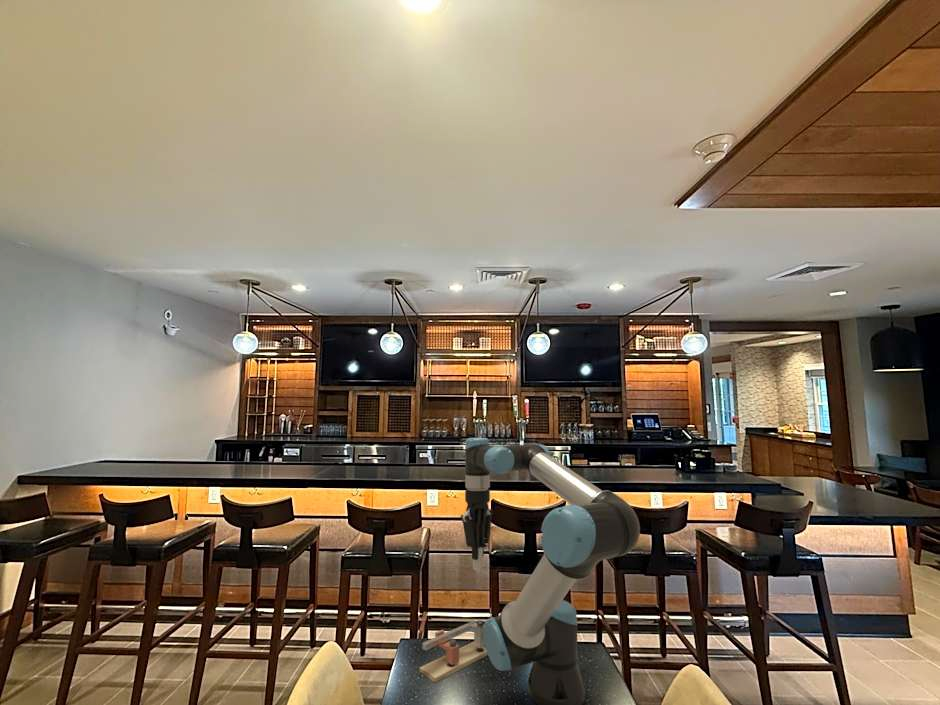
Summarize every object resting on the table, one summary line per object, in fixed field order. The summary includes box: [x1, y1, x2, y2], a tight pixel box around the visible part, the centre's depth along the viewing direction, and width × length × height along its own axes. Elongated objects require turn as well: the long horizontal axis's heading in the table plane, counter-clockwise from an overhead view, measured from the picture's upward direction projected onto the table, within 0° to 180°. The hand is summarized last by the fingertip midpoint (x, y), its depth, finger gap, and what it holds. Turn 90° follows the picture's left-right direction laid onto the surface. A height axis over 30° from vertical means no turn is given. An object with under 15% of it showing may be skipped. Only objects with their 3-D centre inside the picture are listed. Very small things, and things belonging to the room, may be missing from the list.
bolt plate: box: [419, 641, 488, 683], centre depth 136 cm, size 7×22×1 cm, turn 134°
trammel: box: [421, 620, 485, 651], centre depth 136 cm, size 6×20×8 cm, turn 134°
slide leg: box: [434, 629, 460, 665], centre depth 135 cm, size 8×3×6 cm, turn 43°
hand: (477, 569), depth 136 cm, fingers closed
